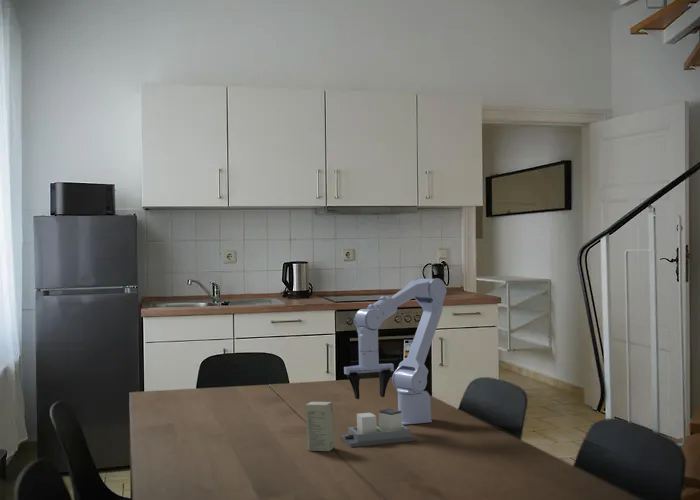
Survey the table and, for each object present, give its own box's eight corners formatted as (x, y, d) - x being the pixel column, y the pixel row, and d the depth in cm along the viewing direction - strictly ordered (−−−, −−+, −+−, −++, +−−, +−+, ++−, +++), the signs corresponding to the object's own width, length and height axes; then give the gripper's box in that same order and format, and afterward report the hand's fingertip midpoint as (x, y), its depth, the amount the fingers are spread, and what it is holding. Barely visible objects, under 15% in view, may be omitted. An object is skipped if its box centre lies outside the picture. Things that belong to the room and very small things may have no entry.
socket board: (402, 432, 214) (401, 407, 214) (414, 440, 205) (414, 415, 205) (340, 438, 209) (339, 413, 209) (350, 447, 200) (349, 420, 200)
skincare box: (335, 447, 200) (333, 401, 200) (329, 452, 196) (328, 404, 196) (312, 446, 202) (311, 400, 202) (306, 450, 198) (304, 403, 198)
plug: (389, 431, 212) (389, 408, 212) (402, 434, 208) (401, 411, 208) (379, 434, 209) (378, 410, 209) (391, 437, 205) (391, 413, 205)
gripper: (387, 347, 224) (388, 393, 224) (340, 350, 220) (341, 397, 220) (395, 350, 218) (397, 397, 218) (347, 353, 213) (348, 401, 213)
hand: (369, 397), depth 219 cm, fingers open, 7 cm apart
